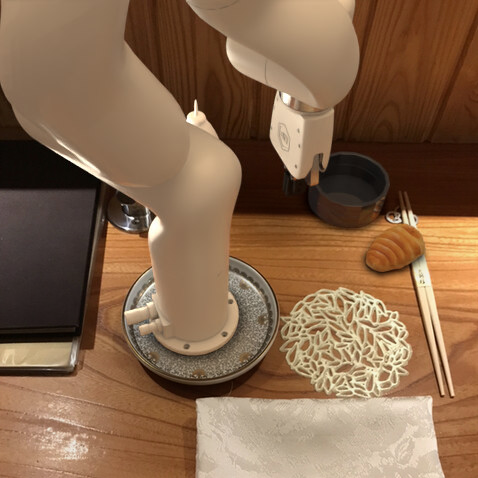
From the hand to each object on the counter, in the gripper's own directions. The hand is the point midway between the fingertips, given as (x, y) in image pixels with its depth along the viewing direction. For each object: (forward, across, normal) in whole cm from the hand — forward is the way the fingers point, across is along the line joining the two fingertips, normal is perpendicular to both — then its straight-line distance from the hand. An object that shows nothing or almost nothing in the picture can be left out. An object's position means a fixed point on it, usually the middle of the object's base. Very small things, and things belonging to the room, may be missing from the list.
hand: (293, 191), depth 87 cm
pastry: (+6, +13, +12) cm, 19 cm away
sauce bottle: (-4, -9, -12) cm, 16 cm away
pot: (+5, 0, +10) cm, 11 cm away
